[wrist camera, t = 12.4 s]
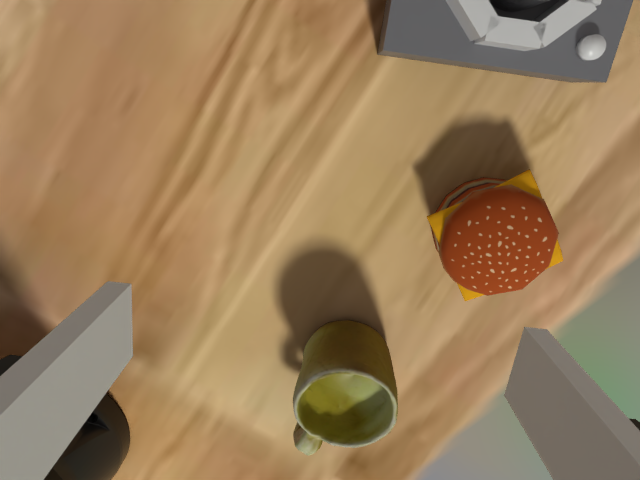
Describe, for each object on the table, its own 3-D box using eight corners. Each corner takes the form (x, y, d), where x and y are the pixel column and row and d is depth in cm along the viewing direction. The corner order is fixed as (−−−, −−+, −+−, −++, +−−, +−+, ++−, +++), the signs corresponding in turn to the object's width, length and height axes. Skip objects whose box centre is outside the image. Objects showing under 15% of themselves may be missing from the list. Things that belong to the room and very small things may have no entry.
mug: (342, 287, 42) (352, 384, 34) (409, 335, 46) (431, 428, 39) (255, 347, 47) (247, 442, 39) (324, 384, 52) (329, 475, 44)
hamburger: (509, 154, 39) (542, 168, 33) (548, 246, 42) (585, 275, 35) (410, 205, 41) (423, 227, 34) (453, 290, 43) (473, 325, 37)
